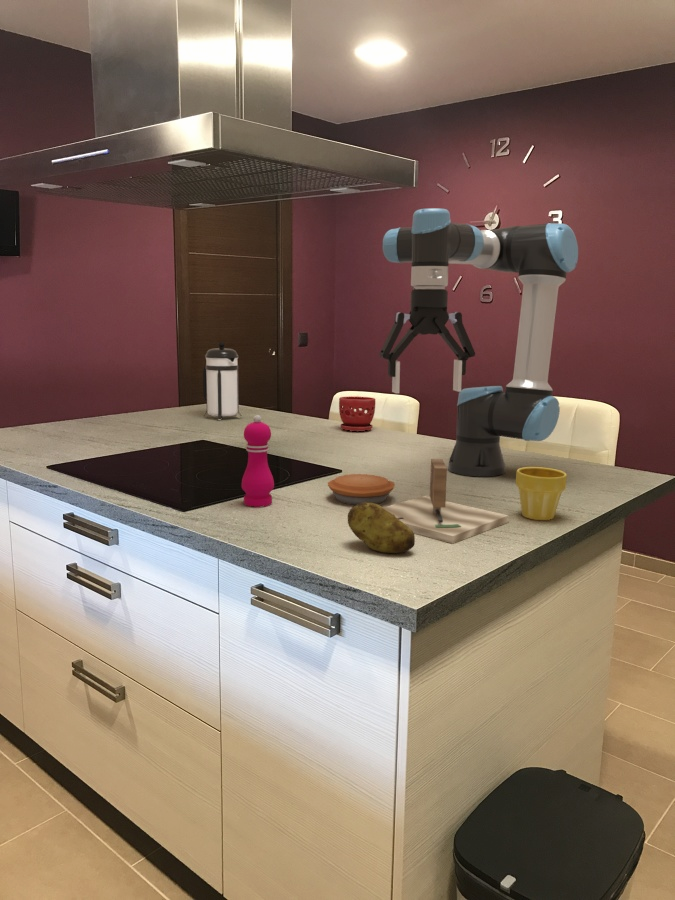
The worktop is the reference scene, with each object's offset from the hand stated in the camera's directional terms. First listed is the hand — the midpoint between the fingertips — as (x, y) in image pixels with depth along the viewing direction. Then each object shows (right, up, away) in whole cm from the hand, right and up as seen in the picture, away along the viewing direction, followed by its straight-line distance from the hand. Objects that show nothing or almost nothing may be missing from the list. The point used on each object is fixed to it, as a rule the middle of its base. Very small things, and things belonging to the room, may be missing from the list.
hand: (426, 391), depth 152 cm
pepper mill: (-37, -24, +10) cm, 45 cm away
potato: (-11, -30, -19) cm, 38 cm away
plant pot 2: (+24, -27, +3) cm, 36 cm away
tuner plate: (+2, -27, -2) cm, 27 cm away
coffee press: (-65, 0, +135) cm, 150 cm away
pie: (-13, -24, +15) cm, 31 cm away
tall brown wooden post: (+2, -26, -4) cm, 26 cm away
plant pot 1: (-12, -5, +111) cm, 111 cm away
